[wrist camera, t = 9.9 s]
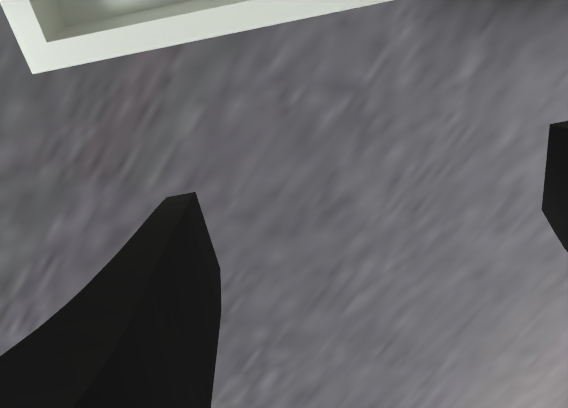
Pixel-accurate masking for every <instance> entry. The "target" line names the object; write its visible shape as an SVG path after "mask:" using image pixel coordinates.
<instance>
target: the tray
mask: <svg viewBox="0 0 568 408" xmlns="http://www.w3.org/2000/svg"><path fill="white" fill-rule="evenodd" d="M387 1H392V0H0V3H1V6H2V8H3V10H4V12H5V14H6V17H7V19H8V21H9V23H10V26H11V28H12V30H13V32H14V34H15V37H16V39H17V41H18V43H19V45H20V48H21V50H22V52H23V54H24V56H25V59H26V61H27V63H28V65H29V67H30V70H31V72H32V74H35V73H40V72H45V71H50V70H55V69H60V68H65V67H70V66H74V65H79V64H84V63H89V62H94V61H99V60H104V59H109V58H114V57H118V56H123V55H128V54H133V53H138V52H143V51H148V50H153V49H157V48H162V47H167V46H172V45H177V44H182V43H187V42H192V41H196V40H201V39H206V38H211V37H216V36H221V35H226V34H231V33H236V32H240V31H245V30H250V29H255V28H260V27H265V26H270V25H275V24H279V23H284V22H289V21H294V20H299V19H304V18H309V17H314V16H319V15H323V14H328V13H333V12H338V11H343V10H348V9H353V8H358V7H362V6H367V5H372V4H377V3H382V2H387Z"/></svg>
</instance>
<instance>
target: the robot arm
mask: <svg viewBox="0 0 568 408" xmlns="http://www.w3.org/2000/svg"><path fill="white" fill-rule="evenodd" d="M542 211H543V213H544V215H545V216H546V218H547V220H548V222H549V223H550V225H551V227H552V229H553V230H554V232H555V234H556V235H557V237H558V239H559V240H560V242H561V243H562V245H563V247H564V248H565V249H566V251H567V252H568V121H565V122H559V123H554V124H550V128H549V139H548V149H547V160H546V171H545V181H544V192H543V203H542ZM220 318H221V279H220V267H219V264H218V261H217V258H216V254H215V251H214V248H213V245H212V242H211V239H210V236H209V233H208V230H207V227H206V223H205V220H204V217H203V214H202V211H201V208H200V205H199V202H198V199H197V195H196V192H193V193H188V194H182V195H177V196H172V197H167V198H166V199H165V200H164V201H163V202H162V203H161V204H160V205H159V206H158V207H157V208H156V209H155V210H154V212H153V213H152V214H151V215H150V216H149V217H148V219H147V220H146V221H145V222H144V223H143V225H142V226H141V227H140V228H139V229H138V230H137V232H136V233H135V234H134V235H133V236H132V237H131V238H130V240H129V241H128V242H127V243H126V244H125V245H124V246H123V248H122V249H121V250H120V251H119V252H118V253H117V254H116V255H115V256H114V257H113V258H112V260H111V261H110V262H109V263H108V264H107V265H106V266H105V267H104V268H103V269H102V270H101V271H100V272H99V273H98V274H97V275H96V276H95V277H94V278H93V279H92V280H91V281H90V282H89V283H88V284H87V285H86V286H85V287H84V288H83V289H82V290H81V291H80V292H79V293H78V294H77V295H76V296H75V297H74V298H73V299H72V300H70V301H69V302H68V303H67V304H66V305H65V306H64V307H63V308H61V309H60V310H59V311H58V312H57V313H56V314H54V315H53V316H52V317H51V318H50V319H48V320H47V321H46V322H45V323H44V324H43V325H41V326H40V327H39V328H38V329H36V330H35V331H34V332H32V333H31V334H30V335H28V336H27V337H26V338H24V339H23V340H22V341H20V342H19V343H18V344H16V345H15V346H14V347H12V348H11V349H10V350H8V351H7V352H5V353H4V354H3V355H1V356H0V408H211V399H212V390H213V382H214V373H215V364H216V355H217V346H218V337H219V328H220Z"/></svg>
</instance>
